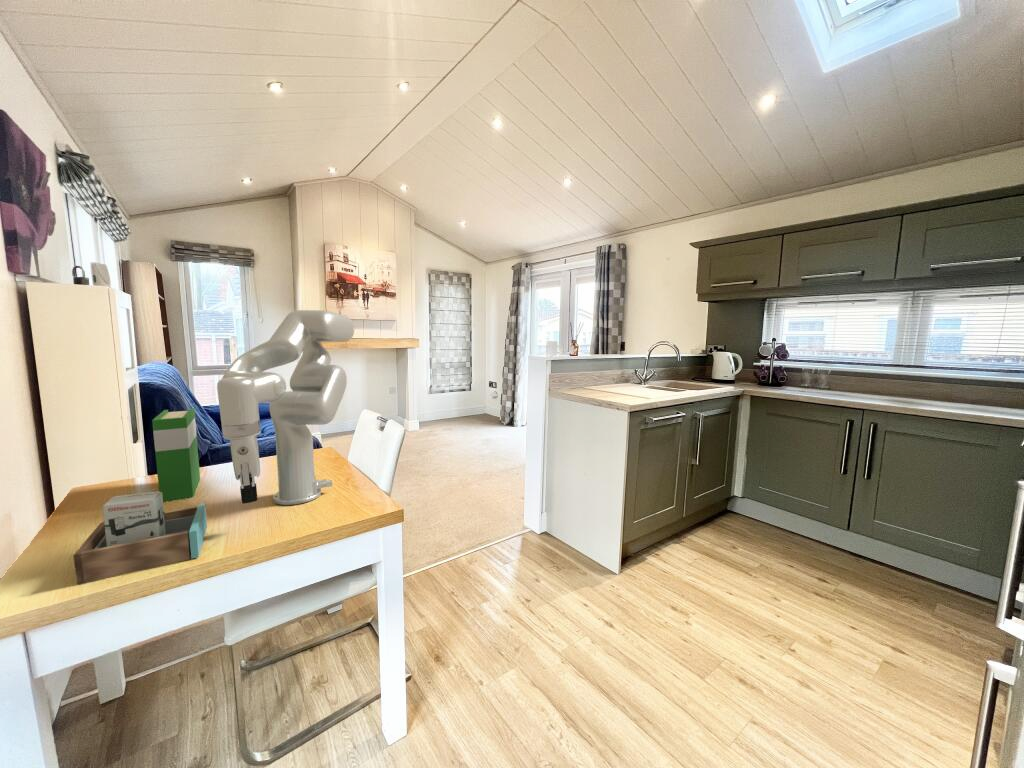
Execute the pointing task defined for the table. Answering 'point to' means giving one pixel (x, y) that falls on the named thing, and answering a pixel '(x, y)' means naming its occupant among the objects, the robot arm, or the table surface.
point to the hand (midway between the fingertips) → (249, 501)
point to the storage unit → (131, 552)
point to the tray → (191, 524)
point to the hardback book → (176, 454)
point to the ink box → (134, 518)
